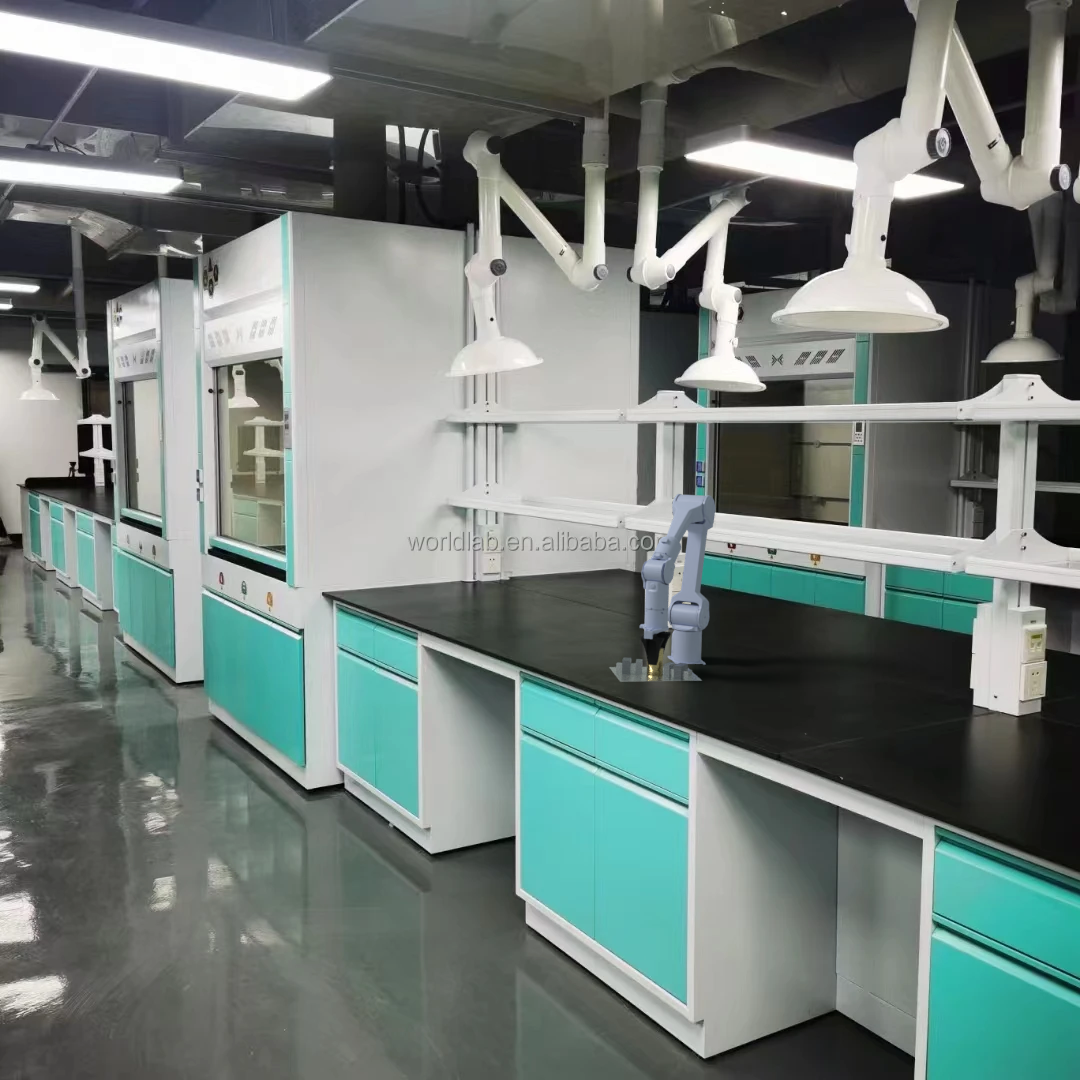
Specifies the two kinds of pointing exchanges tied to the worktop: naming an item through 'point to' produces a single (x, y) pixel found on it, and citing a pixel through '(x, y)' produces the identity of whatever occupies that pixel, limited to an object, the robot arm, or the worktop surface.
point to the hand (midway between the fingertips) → (655, 662)
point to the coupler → (656, 666)
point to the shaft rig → (638, 673)
